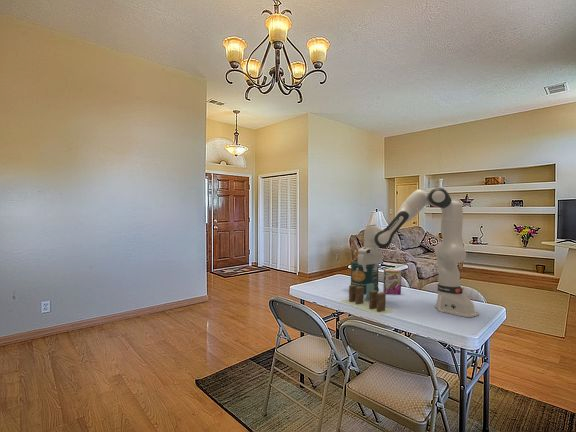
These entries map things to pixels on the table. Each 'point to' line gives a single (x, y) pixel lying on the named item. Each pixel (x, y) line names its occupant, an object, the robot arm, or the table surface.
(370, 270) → the donation box
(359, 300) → the tile
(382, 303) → the tile
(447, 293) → the robot arm
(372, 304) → the tile
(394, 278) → the candy bar box
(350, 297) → the tile
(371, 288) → the teal tile
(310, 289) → the table surface
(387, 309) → the felt mat
